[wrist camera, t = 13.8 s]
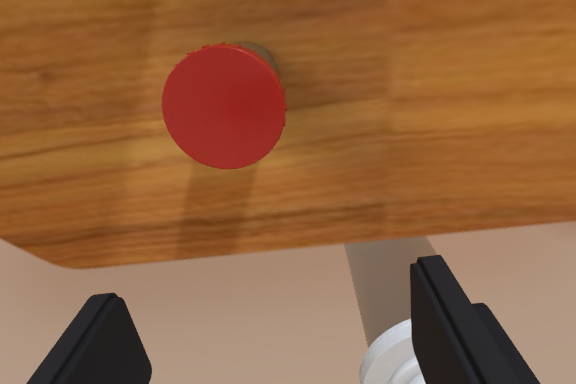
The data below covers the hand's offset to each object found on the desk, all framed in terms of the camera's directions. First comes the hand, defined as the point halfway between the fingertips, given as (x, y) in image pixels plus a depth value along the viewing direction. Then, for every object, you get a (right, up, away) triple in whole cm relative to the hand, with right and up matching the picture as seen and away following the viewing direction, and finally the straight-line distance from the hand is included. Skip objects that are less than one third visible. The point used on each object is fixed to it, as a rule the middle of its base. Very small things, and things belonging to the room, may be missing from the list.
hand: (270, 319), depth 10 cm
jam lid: (-3, +8, +10) cm, 13 cm away
